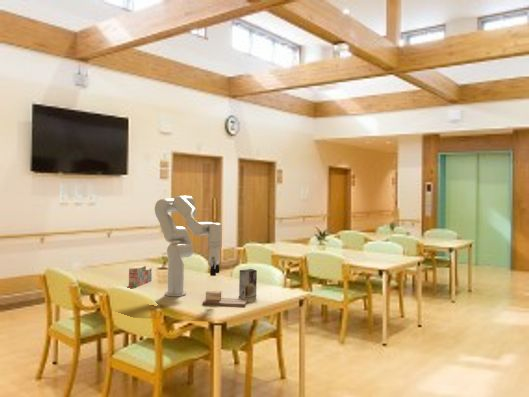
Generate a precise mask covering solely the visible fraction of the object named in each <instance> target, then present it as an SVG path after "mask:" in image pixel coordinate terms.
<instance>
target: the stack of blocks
mask: <svg viewBox="0 0 529 397" xmlns="http://www.w3.org/2000/svg"><path fill="white" fill-rule="evenodd" d="M152 272H153V271H152V267H147V266H146V265H139V264H138V265H135V266H132V267H130V268H128V287H130V288H133V287H134V288H138V287H139V288H140V287H142V286H144V285H145V284H148V283H150V282H152V275H153V274H152Z"/></svg>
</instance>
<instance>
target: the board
mask: <svg viewBox="0 0 529 397" xmlns="http://www.w3.org/2000/svg"><path fill="white" fill-rule="evenodd" d="M248 299H249V298H230V297H229V298H228V297H226V298H225V297H221V300H220V301H206V298H205V299H204V300H203V301H202V304H201V305H202V306H217V307H218V306H220V307H238V308H245V307H246V306H247V304H248V302H249V300H248Z"/></svg>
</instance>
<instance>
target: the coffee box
mask: <svg viewBox="0 0 529 397" xmlns="http://www.w3.org/2000/svg"><path fill="white" fill-rule="evenodd" d="M257 272H258V270H256V269H252V268H247V269H240V270H239V277H238V278H239V285H238V286H239V287H238V290H239V292H238V296H239V297H240V298H241V297H242V298H243V299H248V298H251V297H256V296H257V275H258V274H257Z"/></svg>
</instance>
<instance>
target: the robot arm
mask: <svg viewBox="0 0 529 397" xmlns="http://www.w3.org/2000/svg"><path fill="white" fill-rule="evenodd" d="M195 206H196V200H195V198H193V196H190V195H177V196H175V197H174V198H160V199H159V200H157V201H156V202H155V205H154V214H155V217H156V218H157V221H158V222H159V224H160V228H161V232H162V235H163V237H164V239H165V241H166V242H167V243H170V244H169V245H168V247H167V249H166V256H167V262H168V265H167V270H168V271H167V274H168V275H167V291H165V292H164V295H165V296H166V297H183V296H185V295H186V294H187V292H186V291H185V290H184V288H185V287H184V282H185V281H184V280H185V276H184V275H185V265H184V262H183V259H182V258H189V257H191V256H192V255H193V254H194V252H195V250H194V245H193V242H192V240H191V236H190V234H189V231H190V232H191V233H192V234H193V235H195V236H208V238H207V239H208V242H207V243H208V244H207V245H208V246H207V247H208V248H209V250H208V266H210V267H209V276H211V277H217V274H219V273H220V262H221V248H222V239H223V238H222V232H223V228H222V227H223V225H222V223H220V222H212V221H211V222H210V221H200V222H199V221H197V220H196V219H195V217H196V216H197V214H198V211H197V210H198V209H196V207H195ZM169 213H179V214H180V215H181V216H182V217H183V218H184V219H185V226H186V227H187V228H186V227H184V226H182V225H181V226H177V225H176V224H175V220H174V219H173V217H172V216H171V214H169ZM188 230H189V231H188Z"/></svg>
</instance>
